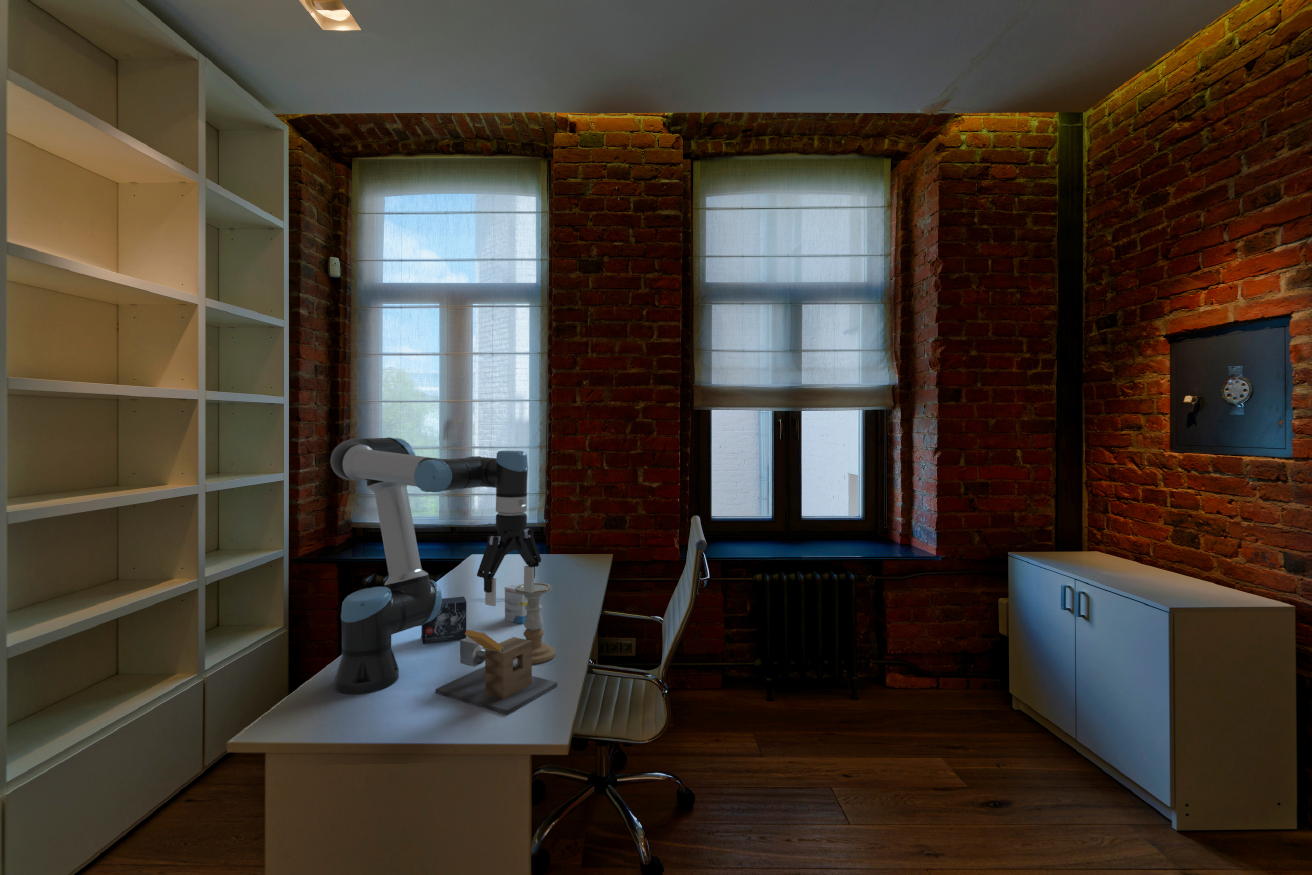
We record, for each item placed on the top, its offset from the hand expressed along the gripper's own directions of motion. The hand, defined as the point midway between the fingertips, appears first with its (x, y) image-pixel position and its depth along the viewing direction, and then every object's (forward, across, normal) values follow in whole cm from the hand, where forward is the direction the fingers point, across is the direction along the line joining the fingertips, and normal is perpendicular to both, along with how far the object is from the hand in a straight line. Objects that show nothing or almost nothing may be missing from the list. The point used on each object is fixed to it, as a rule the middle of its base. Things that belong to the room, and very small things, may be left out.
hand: (510, 598), depth 152 cm
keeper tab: (+9, -9, 0) cm, 12 cm away
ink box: (+25, +47, +38) cm, 65 cm away
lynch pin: (+19, 0, +7) cm, 20 cm away
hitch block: (+24, 0, +4) cm, 24 cm away
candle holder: (+24, +22, +11) cm, 34 cm away
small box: (+25, +20, +46) cm, 56 cm away
